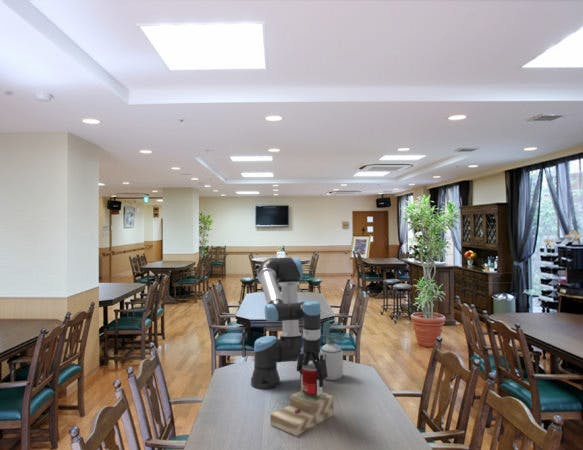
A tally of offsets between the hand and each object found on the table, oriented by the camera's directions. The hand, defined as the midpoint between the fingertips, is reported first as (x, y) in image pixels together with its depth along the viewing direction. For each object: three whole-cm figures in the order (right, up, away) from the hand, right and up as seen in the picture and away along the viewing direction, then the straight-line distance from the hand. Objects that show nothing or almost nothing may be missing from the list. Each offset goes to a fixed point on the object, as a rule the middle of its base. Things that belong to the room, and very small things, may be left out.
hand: (311, 391), depth 173 cm
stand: (-4, -10, -5) cm, 12 cm away
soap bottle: (+13, -11, +44) cm, 47 cm away
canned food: (0, -1, 0) cm, 1 cm away
